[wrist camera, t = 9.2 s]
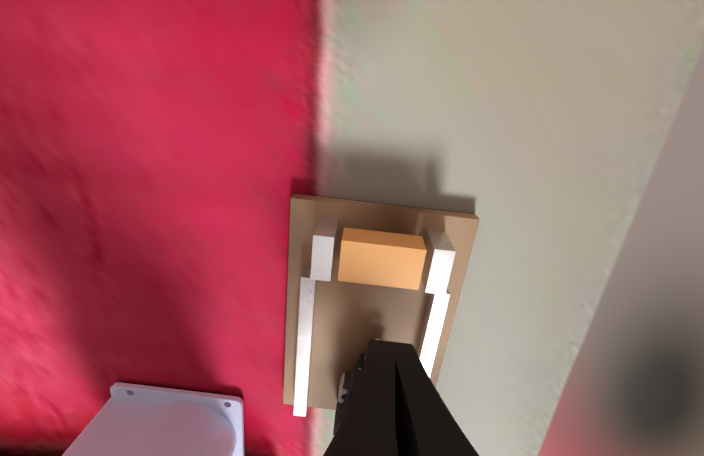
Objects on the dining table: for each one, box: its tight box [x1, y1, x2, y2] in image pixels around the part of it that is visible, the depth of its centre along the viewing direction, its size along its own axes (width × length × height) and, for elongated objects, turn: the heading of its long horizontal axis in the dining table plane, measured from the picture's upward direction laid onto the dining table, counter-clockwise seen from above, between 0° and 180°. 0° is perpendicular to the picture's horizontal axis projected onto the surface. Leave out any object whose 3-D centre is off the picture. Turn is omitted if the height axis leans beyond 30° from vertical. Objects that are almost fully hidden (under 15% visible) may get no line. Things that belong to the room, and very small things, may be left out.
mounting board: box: [283, 194, 479, 410], centre depth 22 cm, size 10×15×1 cm, turn 174°
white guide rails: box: [293, 216, 456, 417], centre depth 20 cm, size 8×14×3 cm, turn 174°
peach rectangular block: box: [338, 227, 427, 290], centre depth 17 cm, size 4×2×2 cm, turn 84°
